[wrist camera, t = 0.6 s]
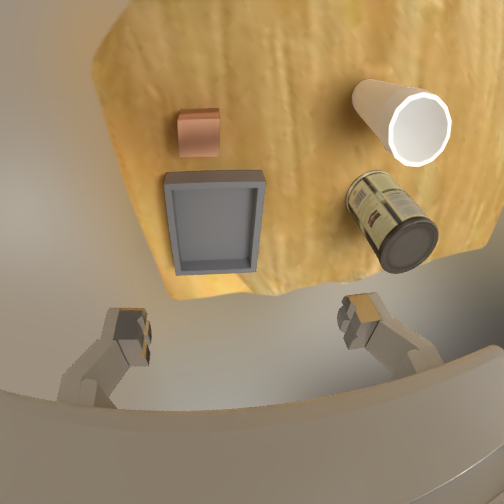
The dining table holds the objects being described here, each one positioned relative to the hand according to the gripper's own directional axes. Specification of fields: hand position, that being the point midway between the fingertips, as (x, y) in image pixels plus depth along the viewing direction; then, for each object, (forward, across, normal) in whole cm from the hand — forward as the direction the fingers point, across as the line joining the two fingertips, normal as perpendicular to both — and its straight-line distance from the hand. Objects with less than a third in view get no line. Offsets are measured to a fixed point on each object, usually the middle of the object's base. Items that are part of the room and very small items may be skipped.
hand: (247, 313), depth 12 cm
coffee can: (+34, -26, +11) cm, 44 cm away
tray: (+34, +1, +16) cm, 38 cm away
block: (+32, +2, 0) cm, 33 cm away
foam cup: (+32, -22, -6) cm, 39 cm away
